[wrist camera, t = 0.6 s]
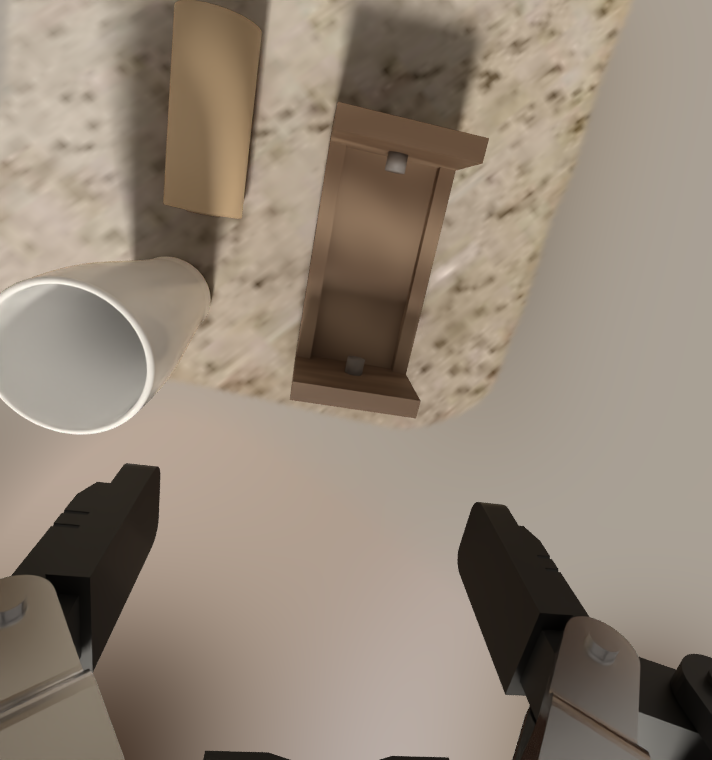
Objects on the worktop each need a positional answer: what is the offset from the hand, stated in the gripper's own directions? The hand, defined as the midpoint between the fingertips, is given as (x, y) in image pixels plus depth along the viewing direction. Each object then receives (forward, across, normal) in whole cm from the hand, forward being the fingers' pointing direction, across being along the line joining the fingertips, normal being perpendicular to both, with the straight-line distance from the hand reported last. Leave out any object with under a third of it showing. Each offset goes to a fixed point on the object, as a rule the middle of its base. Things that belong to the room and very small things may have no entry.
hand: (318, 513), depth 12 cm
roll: (+24, +8, -10) cm, 27 cm away
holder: (+24, -3, -4) cm, 24 cm away
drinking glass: (+24, +10, +1) cm, 26 cm away
